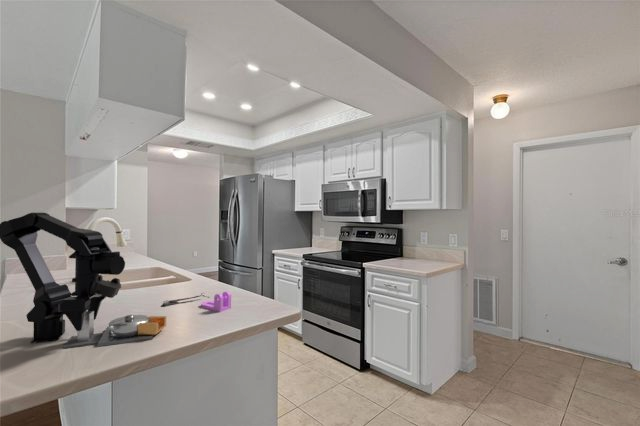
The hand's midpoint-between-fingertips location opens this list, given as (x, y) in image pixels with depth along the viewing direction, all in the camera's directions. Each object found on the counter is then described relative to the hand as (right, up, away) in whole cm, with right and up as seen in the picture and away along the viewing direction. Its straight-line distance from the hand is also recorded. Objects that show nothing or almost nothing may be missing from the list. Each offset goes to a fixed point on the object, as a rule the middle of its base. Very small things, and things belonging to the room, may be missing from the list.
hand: (86, 324), depth 93 cm
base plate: (+9, -5, +5) cm, 12 cm away
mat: (-1, -5, 0) cm, 5 cm away
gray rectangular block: (0, -4, 0) cm, 4 cm away
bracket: (+27, -6, +34) cm, 44 cm away
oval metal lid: (+12, -4, +6) cm, 14 cm away
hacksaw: (+11, -6, +46) cm, 47 cm away
